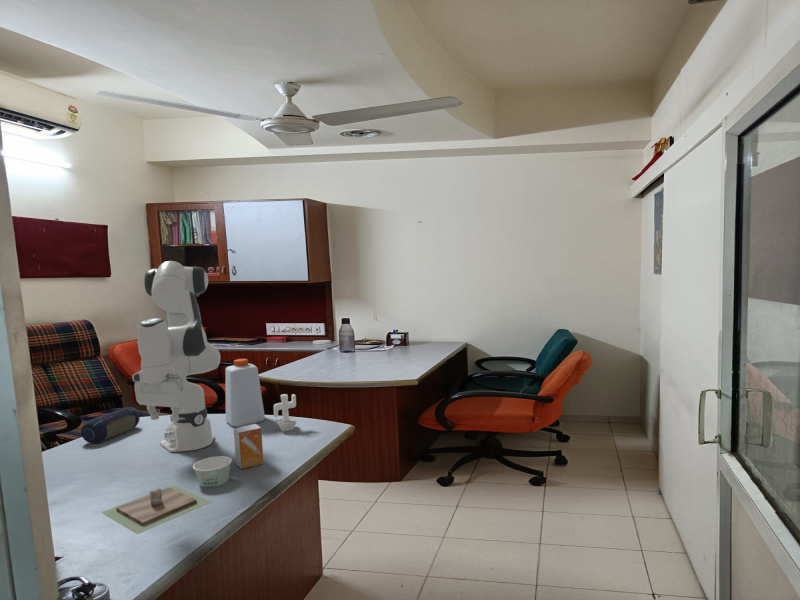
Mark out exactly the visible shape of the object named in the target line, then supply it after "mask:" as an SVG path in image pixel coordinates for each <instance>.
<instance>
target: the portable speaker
mask: <svg viewBox="0 0 800 600" xmlns="http://www.w3.org/2000/svg"><path fill="white" fill-rule="evenodd" d="M140 420H141V418H140V413H139V411H138V409H136V408H135V407H132V406H127V407H122V408H120V409H117V410H114V411H112V412H109V413H106V414H104V415H101V416H98V417H96V418H95V417H94V418H92V419H90V420H89V421H87V422H85V423H84V424H83V426H82V427H81V430H80V435H81V437H82V438H83V440H84V441H86V442H87V443H89V444H98V443H102V442H103V441H106V440H109V439H111V438H113V437H116V436H118V435H121V434H124V433H126V432H128V431H130V430H132V429H134V428H136V427H137V426H138V424H139V422H140Z"/></svg>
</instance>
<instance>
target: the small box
mask: <svg viewBox="0 0 800 600" xmlns="http://www.w3.org/2000/svg"><path fill="white" fill-rule="evenodd" d="M262 435H263V434H262V427H260V426H259V424H258V423H255V424H251V425H246V426H242V427H233V438H234V453H235V464H236V466H238V467H239V469H240V470H243V469H246V468H251V467H255V466H258V465H263V464H264V462H265V461H264V448H263V436H262Z"/></svg>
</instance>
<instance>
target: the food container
mask: <svg viewBox="0 0 800 600" xmlns="http://www.w3.org/2000/svg"><path fill="white" fill-rule="evenodd" d="M232 463H233V459H232V458H231V457H230V456H227V455H226V456H224V455H222V456H220V455H219V456H211V457H210V456H209V457H207V458H203V459H200V460H198V461H196V462H195V463H194V464H192V468H193V470H194V472H195V476H196V479H197V482H198V485H199V486H200V487H201V488H215V487H218V486H221V485H224V484H226V483H228V482H229V480H230V474H231V472H230V471H231V464H232Z"/></svg>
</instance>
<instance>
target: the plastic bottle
mask: <svg viewBox="0 0 800 600" xmlns="http://www.w3.org/2000/svg"><path fill="white" fill-rule="evenodd" d="M258 369H259V368H258V367H257V366H256V365H255V364H252V363H249V359H247V358H237V359H235V360H233V365H229V366H226V368H225V370H224V371H225V422H226V423H228V425H230V426H231V427H233V428H239V427H243V426H247V425H253V424H259V423H261V422H263V421H264V420H265V409H264V403H263V397H262V388H261V384H260V377H259V370H258Z"/></svg>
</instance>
